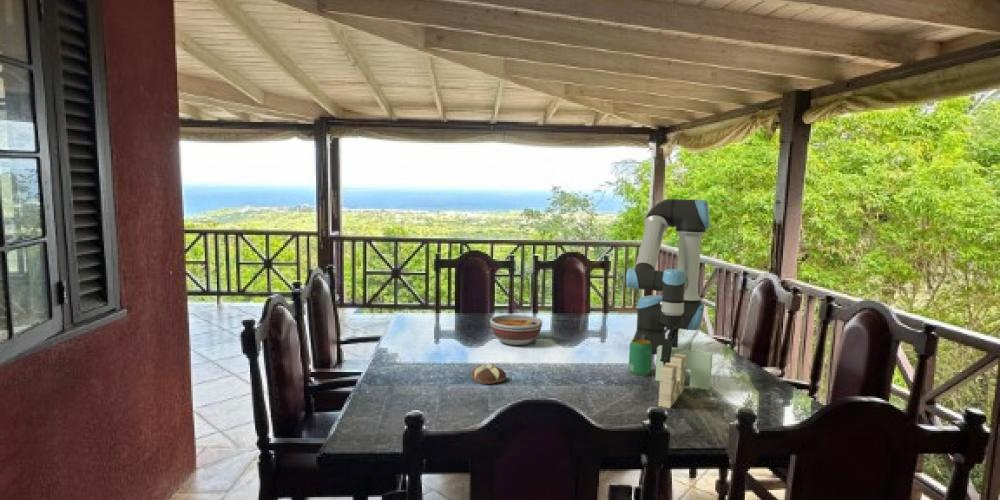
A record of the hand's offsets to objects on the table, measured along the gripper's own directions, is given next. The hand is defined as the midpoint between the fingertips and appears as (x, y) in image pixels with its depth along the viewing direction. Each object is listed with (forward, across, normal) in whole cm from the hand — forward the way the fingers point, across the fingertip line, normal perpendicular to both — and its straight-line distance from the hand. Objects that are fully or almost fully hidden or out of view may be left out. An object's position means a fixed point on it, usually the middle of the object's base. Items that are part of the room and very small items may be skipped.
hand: (668, 376), depth 194 cm
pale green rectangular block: (+2, 0, +5) cm, 5 cm away
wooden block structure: (+2, +16, +5) cm, 17 cm away
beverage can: (+2, -3, -11) cm, 12 cm away
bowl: (+2, -14, -69) cm, 71 cm away
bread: (+2, +35, -53) cm, 64 cm away
